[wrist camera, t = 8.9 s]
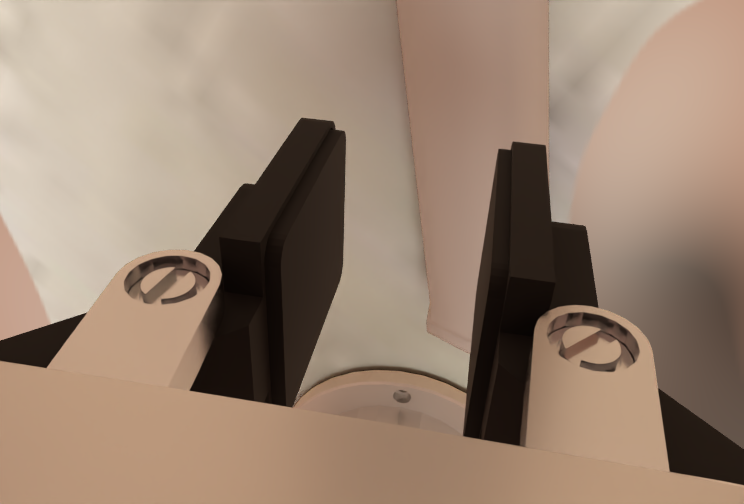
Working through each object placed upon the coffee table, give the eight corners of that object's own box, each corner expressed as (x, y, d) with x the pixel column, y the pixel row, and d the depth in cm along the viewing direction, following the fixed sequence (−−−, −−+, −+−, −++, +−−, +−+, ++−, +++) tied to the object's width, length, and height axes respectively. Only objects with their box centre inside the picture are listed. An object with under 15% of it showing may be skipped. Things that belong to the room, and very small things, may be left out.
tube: (280, -551, 15) (405, 339, 28) (516, -666, 13) (534, 369, 26) (391, -490, 19) (456, 269, 32) (590, -569, 17) (573, 289, 29)
